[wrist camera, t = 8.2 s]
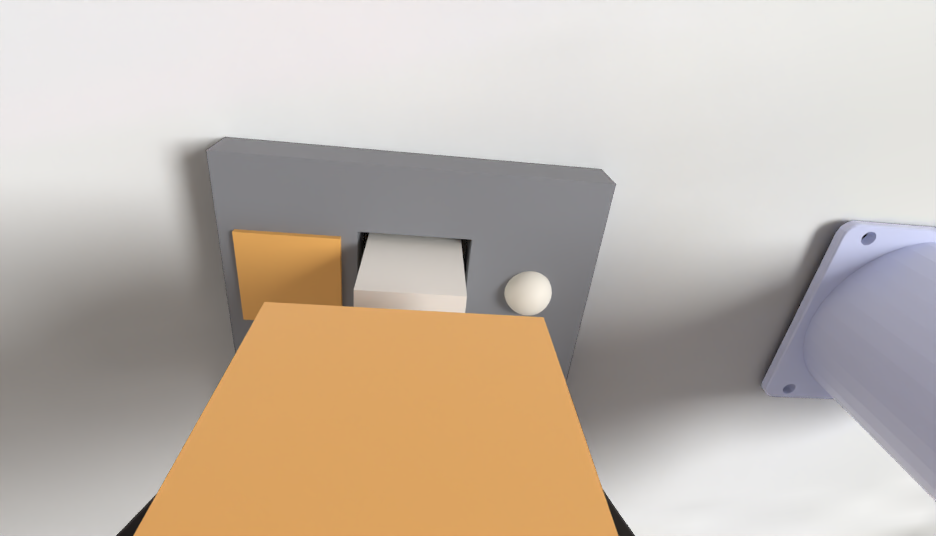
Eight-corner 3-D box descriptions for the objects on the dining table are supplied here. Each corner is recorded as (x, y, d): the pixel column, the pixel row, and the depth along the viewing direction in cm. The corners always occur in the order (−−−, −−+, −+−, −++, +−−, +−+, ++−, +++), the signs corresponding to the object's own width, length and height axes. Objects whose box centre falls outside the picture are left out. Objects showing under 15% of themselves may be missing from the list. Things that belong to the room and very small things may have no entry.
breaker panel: (601, 169, 17) (624, 193, 15) (513, 542, 26) (520, 588, 24) (225, 136, 15) (194, 158, 13) (275, 539, 25) (261, 588, 23)
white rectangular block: (459, 230, 17) (466, 296, 13) (452, 304, 19) (456, 382, 15) (371, 224, 17) (353, 289, 13) (370, 299, 18) (353, 378, 15)
